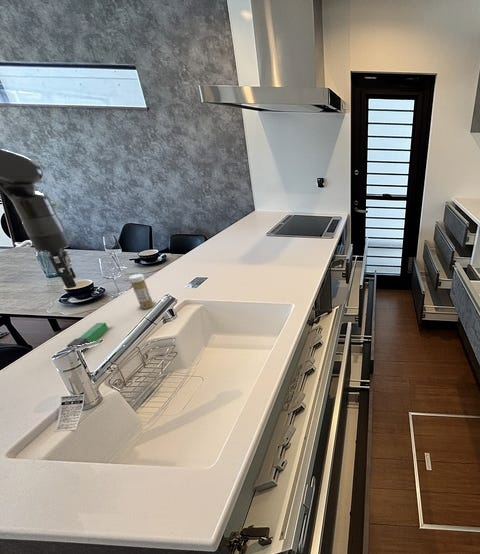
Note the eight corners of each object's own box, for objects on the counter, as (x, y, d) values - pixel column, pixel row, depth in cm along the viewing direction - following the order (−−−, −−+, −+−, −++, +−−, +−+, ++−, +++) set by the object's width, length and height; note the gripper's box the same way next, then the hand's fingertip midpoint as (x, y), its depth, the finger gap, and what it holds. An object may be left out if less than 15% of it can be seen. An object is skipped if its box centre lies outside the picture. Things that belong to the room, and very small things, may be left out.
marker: (99, 329, 107) (95, 322, 106) (109, 328, 107) (105, 321, 106) (71, 353, 95) (66, 345, 94) (82, 352, 95) (78, 344, 94)
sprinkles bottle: (156, 303, 124) (145, 273, 118) (150, 308, 119) (138, 278, 114) (144, 303, 123) (133, 273, 118) (137, 309, 119) (125, 278, 114)
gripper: (30, 229, 88) (55, 279, 95) (25, 240, 79) (54, 294, 86) (64, 224, 93) (86, 272, 100) (64, 233, 83) (88, 286, 90)
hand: (71, 282), depth 93 cm, fingers open, 8 cm apart
